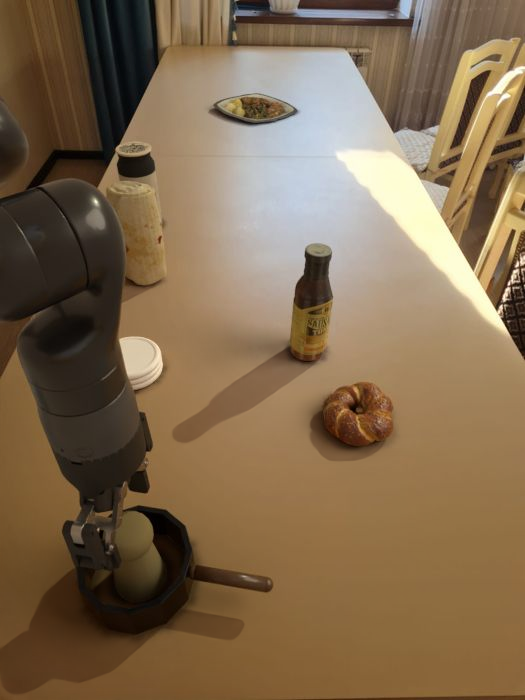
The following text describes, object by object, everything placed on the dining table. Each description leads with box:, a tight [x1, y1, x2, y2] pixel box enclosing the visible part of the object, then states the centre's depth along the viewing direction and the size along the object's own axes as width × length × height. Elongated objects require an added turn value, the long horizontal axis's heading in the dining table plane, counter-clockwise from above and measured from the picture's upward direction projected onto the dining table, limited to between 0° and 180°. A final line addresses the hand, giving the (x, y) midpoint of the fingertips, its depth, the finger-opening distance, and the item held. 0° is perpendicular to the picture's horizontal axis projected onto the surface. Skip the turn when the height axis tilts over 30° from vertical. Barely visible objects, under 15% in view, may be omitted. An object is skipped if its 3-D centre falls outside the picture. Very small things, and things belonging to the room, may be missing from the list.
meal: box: [212, 92, 299, 124], centre depth 184 cm, size 25×25×3 cm
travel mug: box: [114, 140, 163, 226], centre depth 119 cm, size 8×8×18 cm
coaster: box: [119, 336, 164, 391], centre depth 88 cm, size 10×10×4 cm
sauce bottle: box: [289, 242, 334, 362], centre depth 86 cm, size 7×6×20 cm
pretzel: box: [321, 381, 394, 447], centre depth 80 cm, size 12×11×4 cm
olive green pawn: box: [103, 511, 168, 604], centre depth 59 cm, size 6×6×11 cm
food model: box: [105, 181, 168, 286], centre depth 102 cm, size 10×7×20 cm
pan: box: [75, 504, 274, 635], centre depth 61 cm, size 22×12×5 cm, turn 80°
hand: (125, 525), depth 56 cm, fingers open, 8 cm apart
